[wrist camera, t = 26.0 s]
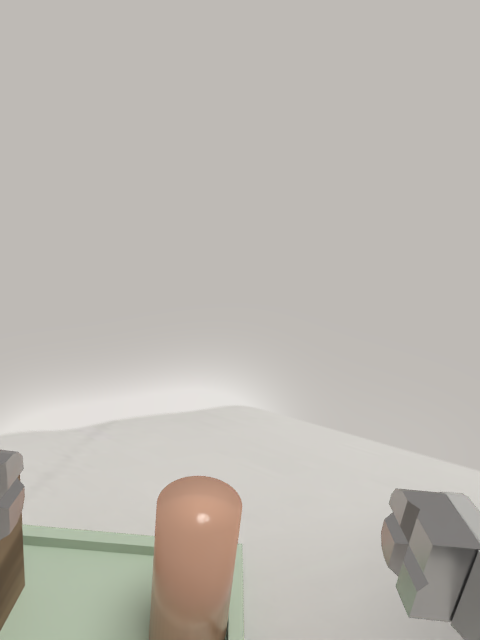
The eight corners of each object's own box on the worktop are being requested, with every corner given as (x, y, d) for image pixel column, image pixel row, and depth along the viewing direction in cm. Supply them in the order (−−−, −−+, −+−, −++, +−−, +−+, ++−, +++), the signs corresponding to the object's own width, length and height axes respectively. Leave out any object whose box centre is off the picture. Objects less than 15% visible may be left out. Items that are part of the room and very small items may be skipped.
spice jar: (227, 600, 29) (242, 480, 27) (223, 677, 24) (241, 540, 22) (158, 593, 29) (166, 472, 27) (139, 669, 24) (147, 530, 22)
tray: (240, 558, 33) (242, 543, 33) (242, 774, 21) (246, 756, 21) (-23, 535, 32) (-24, 520, 32) (-183, 748, 20) (-189, 728, 20)
